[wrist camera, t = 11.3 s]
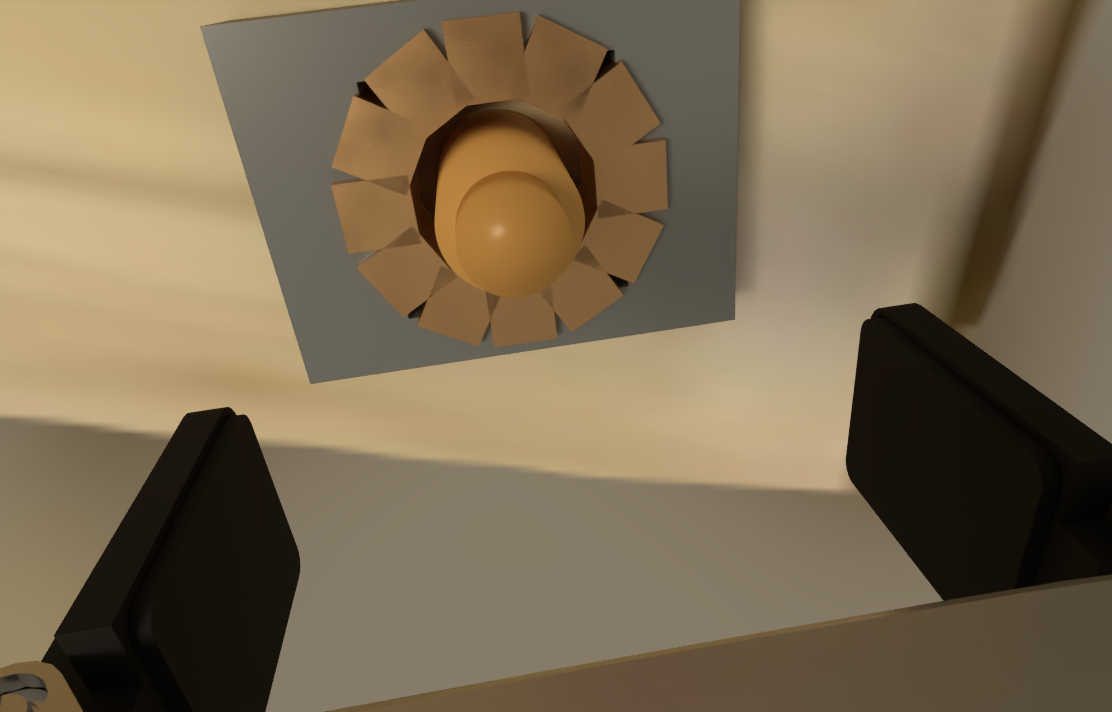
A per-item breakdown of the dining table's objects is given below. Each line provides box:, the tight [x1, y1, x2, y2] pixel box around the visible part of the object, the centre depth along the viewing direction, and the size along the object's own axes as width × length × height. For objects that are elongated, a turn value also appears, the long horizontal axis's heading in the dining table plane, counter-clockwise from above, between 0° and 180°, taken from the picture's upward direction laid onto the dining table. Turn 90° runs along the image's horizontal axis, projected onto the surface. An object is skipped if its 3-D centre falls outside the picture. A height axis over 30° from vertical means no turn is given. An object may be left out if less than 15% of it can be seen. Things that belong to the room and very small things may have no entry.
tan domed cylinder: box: [435, 110, 585, 298], centre depth 23 cm, size 4×4×8 cm
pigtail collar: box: [331, 11, 668, 348], centre depth 25 cm, size 11×11×4 cm
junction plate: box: [200, 0, 740, 384], centre depth 25 cm, size 16×12×3 cm
